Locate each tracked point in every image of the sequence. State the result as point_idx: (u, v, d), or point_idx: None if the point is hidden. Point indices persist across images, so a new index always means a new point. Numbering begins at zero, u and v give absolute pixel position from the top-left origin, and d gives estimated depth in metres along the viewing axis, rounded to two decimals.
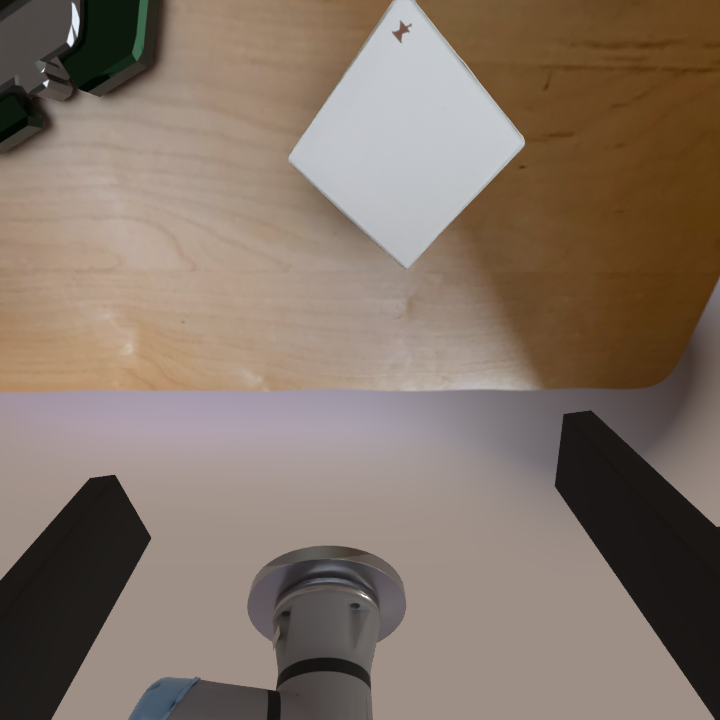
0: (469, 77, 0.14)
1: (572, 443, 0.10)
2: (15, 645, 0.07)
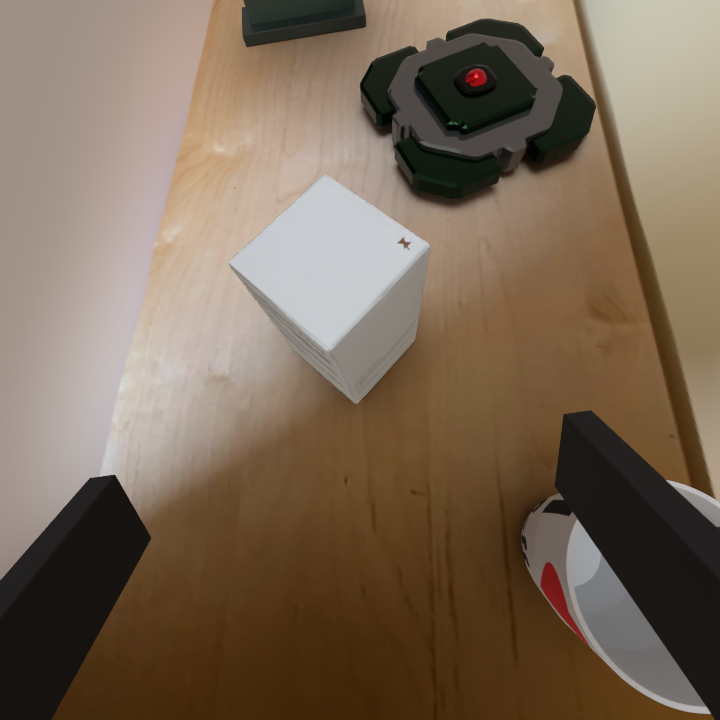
0: (377, 296, 0.17)
1: (572, 443, 0.10)
2: (15, 645, 0.07)
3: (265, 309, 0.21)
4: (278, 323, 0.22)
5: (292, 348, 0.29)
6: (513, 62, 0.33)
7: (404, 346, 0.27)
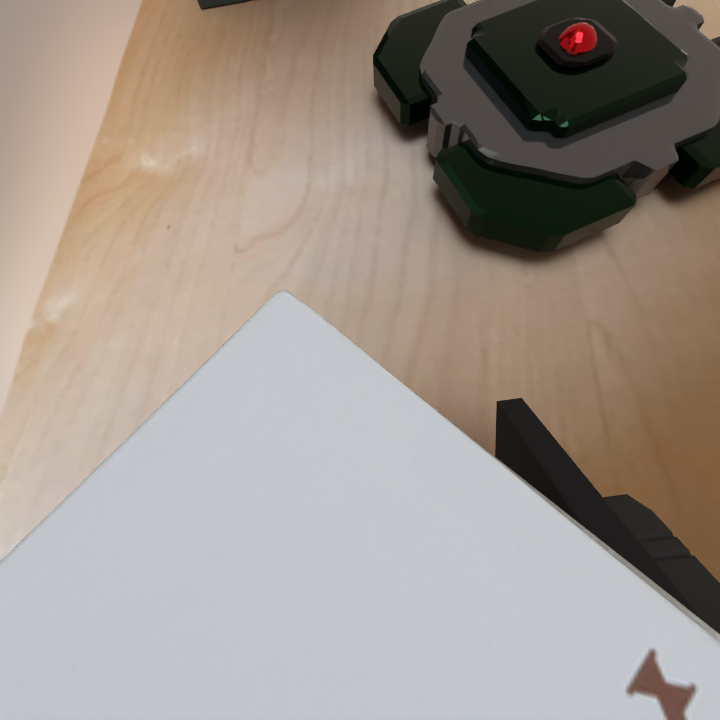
0: None
1: (503, 427, 0.11)
2: None
3: None
4: None
5: None
6: (638, 13, 0.19)
7: None
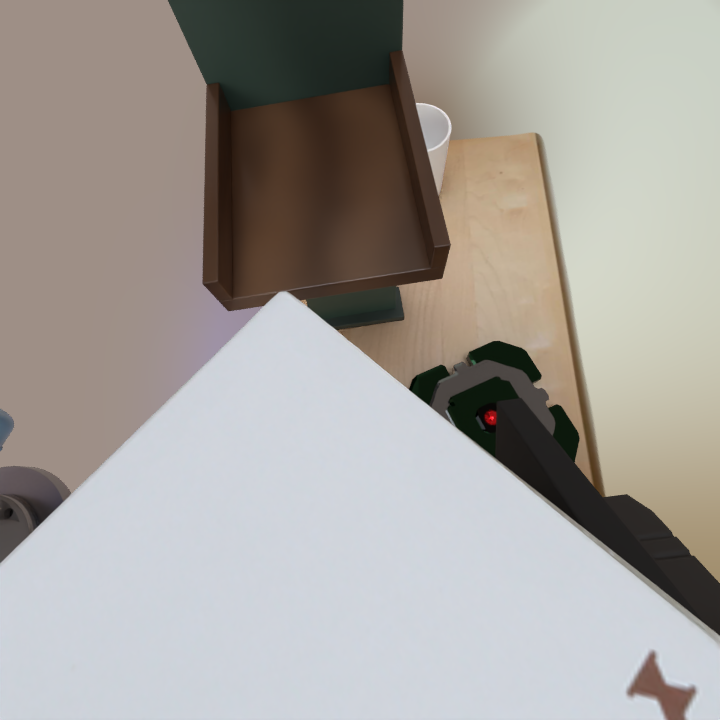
0: None
1: (503, 427, 0.11)
2: None
3: None
4: None
5: None
6: None
7: None
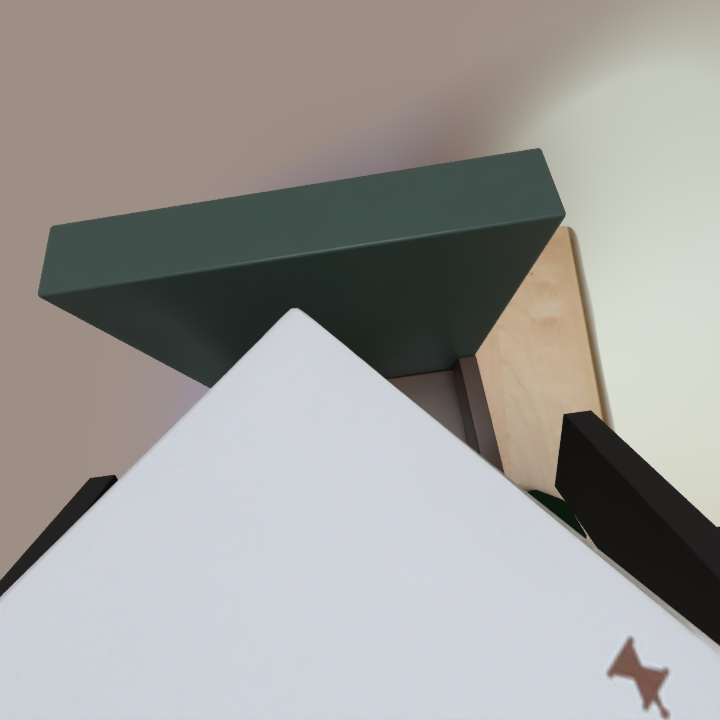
0: None
1: (572, 443, 0.10)
2: None
3: None
4: None
5: None
6: None
7: None
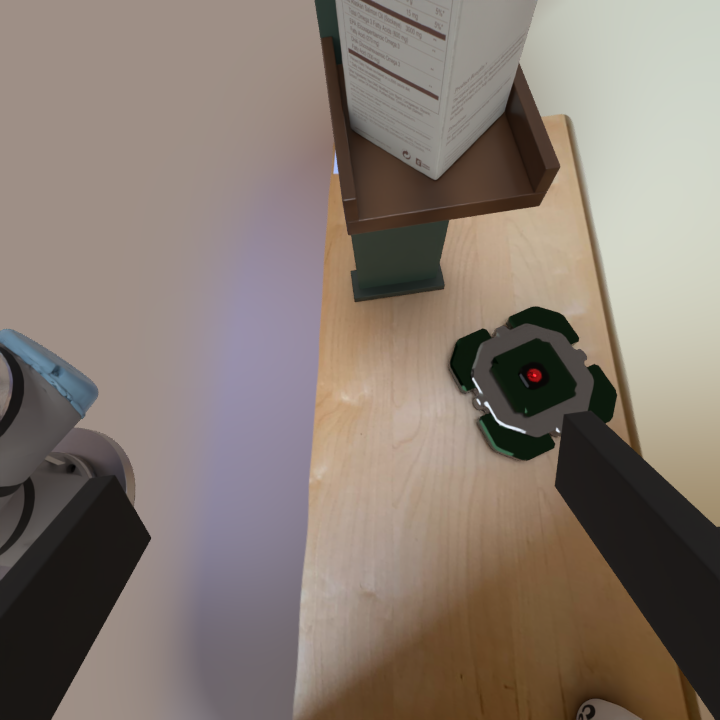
0: None
1: (572, 443, 0.10)
2: (15, 645, 0.07)
3: None
4: None
5: (353, 119, 0.23)
6: (559, 359, 0.48)
7: (498, 99, 0.22)
